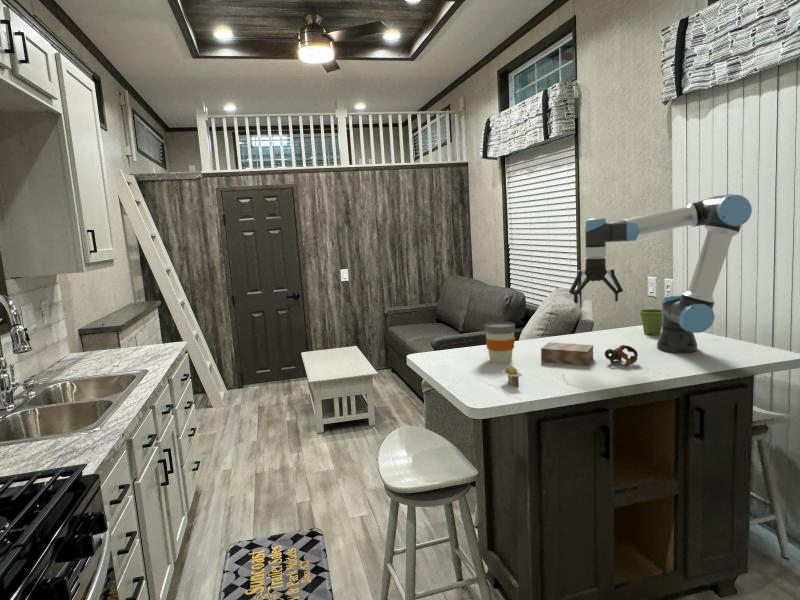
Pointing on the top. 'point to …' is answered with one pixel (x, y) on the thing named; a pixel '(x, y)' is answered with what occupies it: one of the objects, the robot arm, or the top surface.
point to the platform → (512, 375)
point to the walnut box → (567, 353)
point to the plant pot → (651, 321)
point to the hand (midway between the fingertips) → (595, 310)
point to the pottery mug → (622, 354)
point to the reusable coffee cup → (500, 340)
